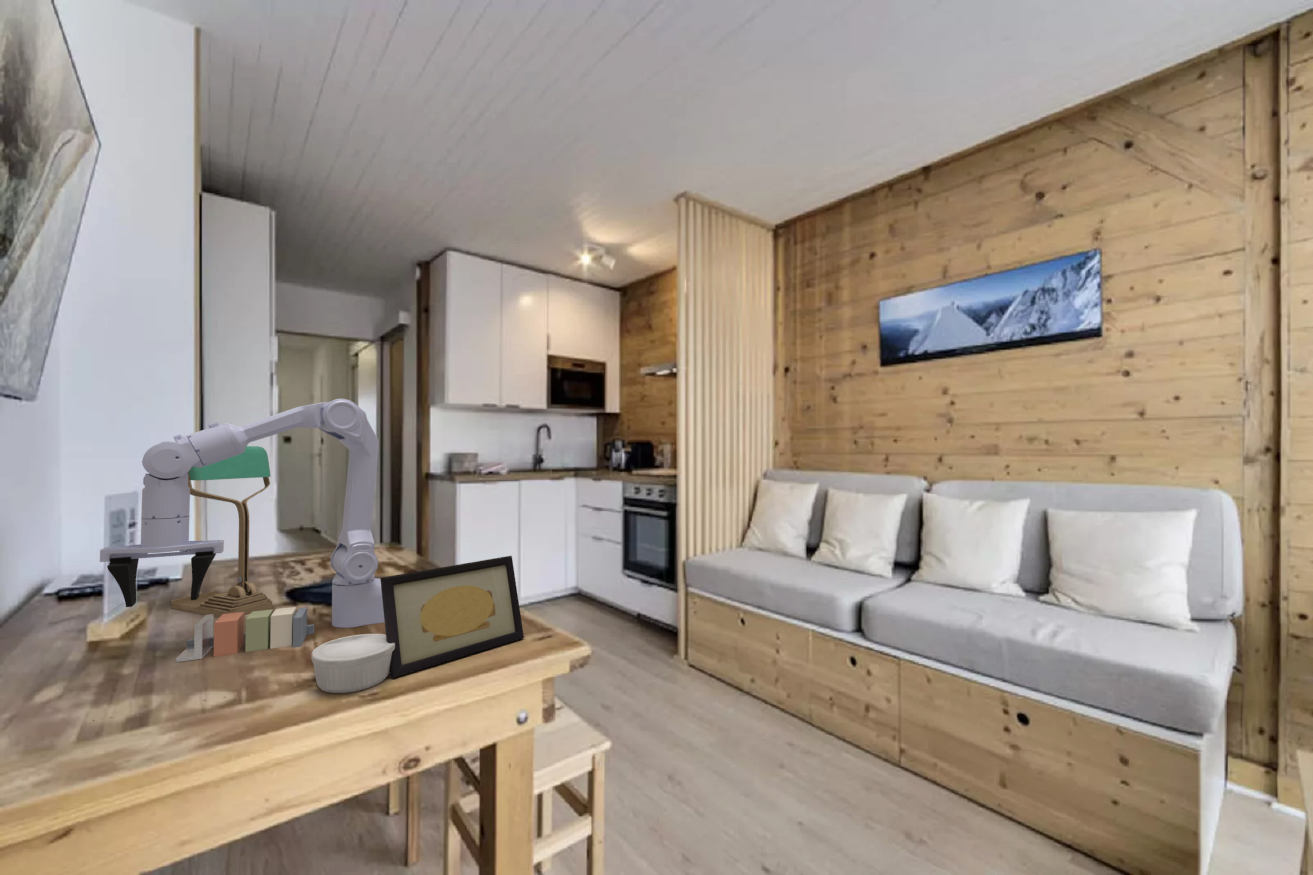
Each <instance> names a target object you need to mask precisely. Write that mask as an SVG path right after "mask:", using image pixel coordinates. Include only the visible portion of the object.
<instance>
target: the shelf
mask: <svg viewBox="0 0 1313 875" xmlns="http://www.w3.org/2000/svg"><path fill="white" fill-rule="evenodd" d="M314 633H315V624H314V623H312V624H308V606H305V607H304V606H303V607H299V608H297V611H296V614H295V616H294V618H293V644H292V648H300V647H302V646H303V644H304V641H305V639H306V637H307V636H308V635H313V634H314ZM244 643H246V632H244ZM189 646H194V638H189V639H187V640H186V648H187V647H189ZM213 647H214V635H213Z"/></svg>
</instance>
